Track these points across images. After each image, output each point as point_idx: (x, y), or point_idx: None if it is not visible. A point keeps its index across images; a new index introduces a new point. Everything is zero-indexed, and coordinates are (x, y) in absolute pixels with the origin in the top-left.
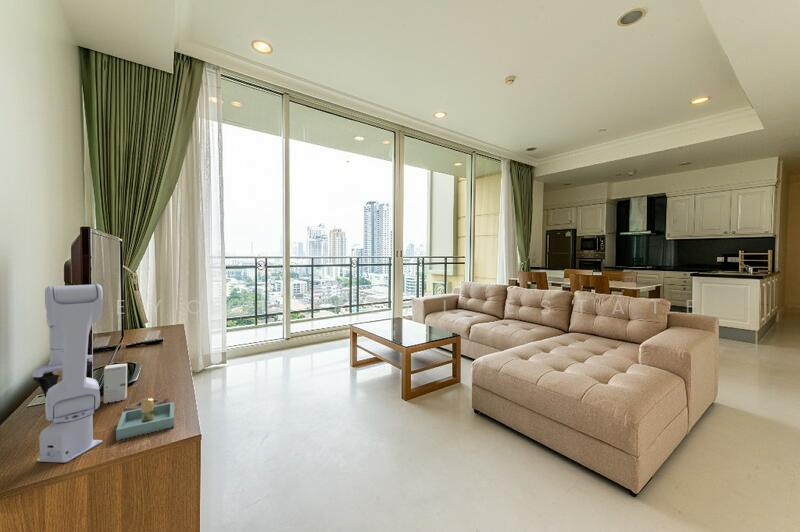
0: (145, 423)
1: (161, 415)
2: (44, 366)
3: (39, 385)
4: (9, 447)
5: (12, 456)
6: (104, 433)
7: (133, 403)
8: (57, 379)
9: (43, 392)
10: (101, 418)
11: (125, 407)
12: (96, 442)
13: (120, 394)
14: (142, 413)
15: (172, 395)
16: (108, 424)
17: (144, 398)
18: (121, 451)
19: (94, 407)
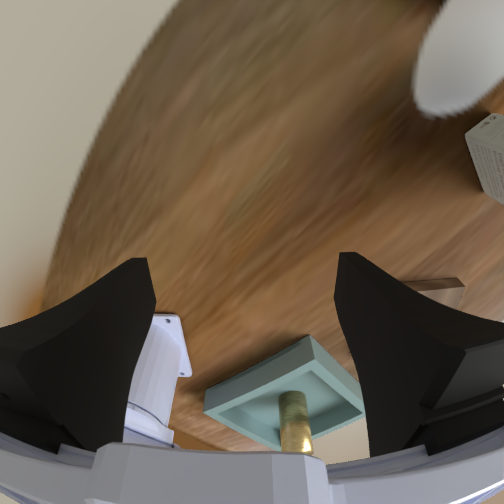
0: (245, 434)
1: (333, 397)
2: (8, 482)
3: (51, 310)
4: (99, 142)
5: (73, 221)
6: (233, 344)
7: (421, 292)
8: (121, 434)
9: (100, 280)
10: (338, 247)
11: None
12: (179, 372)
13: (496, 190)
14: (280, 423)
15: (479, 315)
16: (290, 310)
17: (456, 291)
18: (176, 414)
19: (171, 445)
